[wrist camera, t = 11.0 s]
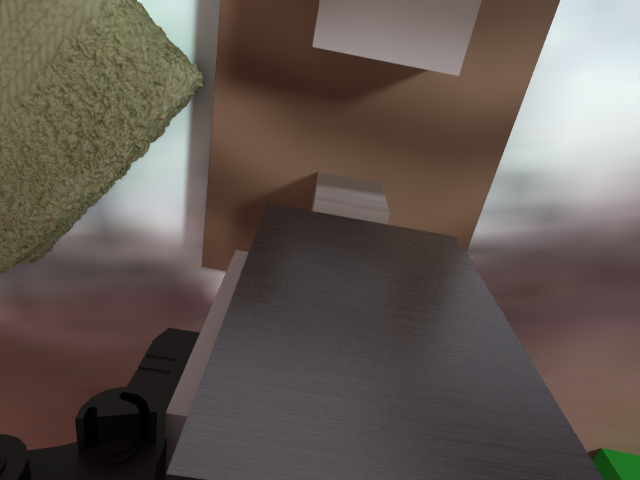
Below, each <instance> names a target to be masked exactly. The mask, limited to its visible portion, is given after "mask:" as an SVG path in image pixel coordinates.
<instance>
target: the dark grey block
mask: <svg viewBox="0 0 640 480" xmlns="http://www.w3.org/2000/svg"><path fill="white" fill-rule="evenodd" d="M166 480H603V478H602V476H601V475H600V473H599V471H598V470H597V468H596V466H595V465H594V463H593V461H592V460H591V458H590V456H589V455H588V453H587V451H586V450H585V448H584V447H583V445H582V443H581V442H580V440H579V438H578V437H577V435H576V433H575V432H574V430H573V428H572V427H571V425H570V423H569V422H568V420H567V418H566V417H565V415H564V413H563V412H562V410H561V409H560V407H559V405H558V404H557V402H556V400H555V399H554V397H553V395H552V394H551V392H550V390H549V389H548V387H547V385H546V384H545V382H544V380H543V379H542V377H541V376H540V374H539V372H538V371H537V369H536V367H535V366H534V364H533V362H532V361H531V359H530V357H529V356H528V354H527V352H526V351H525V349H524V347H523V346H522V344H521V342H520V341H519V339H518V338H517V336H516V334H515V333H514V331H513V329H512V328H511V326H510V324H509V323H508V321H507V319H506V318H505V316H504V314H503V313H502V311H501V309H500V308H499V306H498V304H497V303H496V301H495V300H494V298H493V296H492V295H491V293H490V291H489V290H488V288H487V286H486V285H485V283H484V281H483V280H482V278H481V276H480V275H479V273H478V271H477V270H476V268H475V267H474V265H473V263H472V262H471V260H470V258H469V257H468V255H467V253H466V252H465V250H464V248H463V247H462V245H461V243H460V242H459V240H458V238H457V237H455V236H450V235H444V234H438V233H433V232H427V231H422V230H416V229H410V228H405V227H399V226H393V225H388V224H382V223H376V222H371V221H365V220H360V219H354V218H348V217H343V216H337V215H331V214H326V213H320V212H314V211H309V210H303V209H298V208H292V207H286V206H281V205H275V204H269V203H267V204H266V207H265V209H264V212H263V215H262V217H261V220H260V223H259V225H258V228H257V231H256V233H255V236H254V239H253V242H252V244H251V247H250V250H249V252H248V255H247V258H246V260H245V263H244V266H243V268H242V271H241V274H240V277H239V279H238V282H237V285H236V287H235V290H234V293H233V295H232V298H231V301H230V303H229V306H228V309H227V312H226V314H225V317H224V320H223V322H222V325H221V328H220V330H219V333H218V336H217V338H216V341H215V344H214V347H213V349H212V352H211V355H210V357H209V360H208V363H207V365H206V368H205V371H204V373H203V376H202V379H201V382H200V384H199V387H198V390H197V392H196V395H195V398H194V400H193V403H192V406H191V408H190V411H189V414H188V417H187V419H186V422H185V425H184V427H183V430H182V433H181V435H180V438H179V441H178V443H177V446H176V449H175V452H174V454H173V457H172V460H171V462H170V465H169V468H168V470H167V473H166Z"/></svg>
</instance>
